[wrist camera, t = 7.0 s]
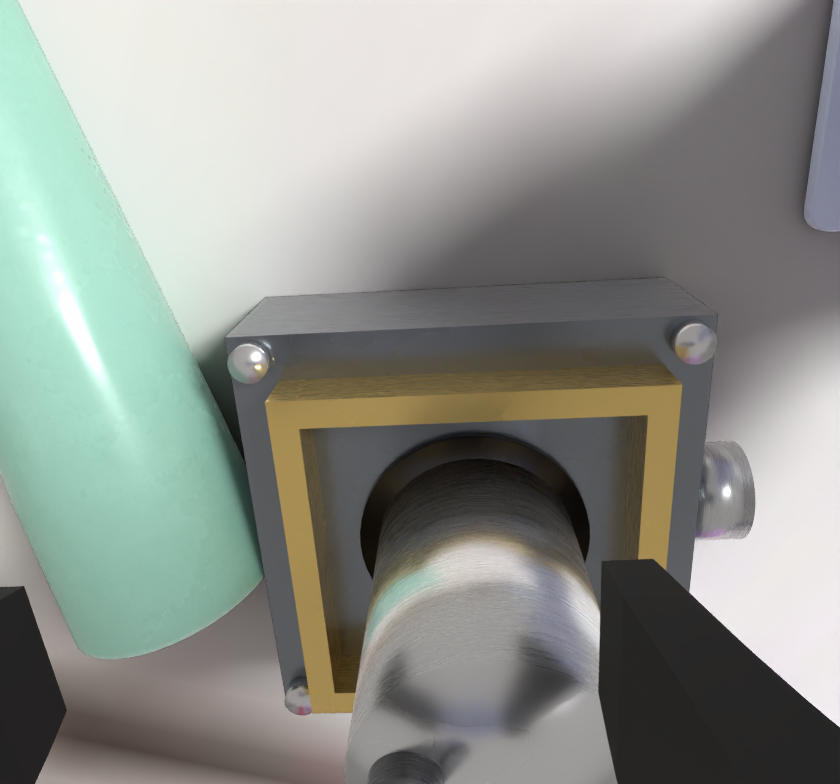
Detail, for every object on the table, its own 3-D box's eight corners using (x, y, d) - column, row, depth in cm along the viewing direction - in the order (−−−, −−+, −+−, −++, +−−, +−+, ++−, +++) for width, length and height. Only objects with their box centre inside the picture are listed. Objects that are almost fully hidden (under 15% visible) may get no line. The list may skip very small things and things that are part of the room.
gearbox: (727, 273, 17) (826, 327, 12) (691, 606, 20) (759, 737, 16) (265, 297, 17) (205, 356, 13) (311, 615, 21) (276, 744, 17)
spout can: (582, 460, 15) (711, 774, 8) (565, 625, 16) (658, 1009, 9) (377, 456, 15) (318, 763, 8) (381, 620, 16) (334, 997, 9)
